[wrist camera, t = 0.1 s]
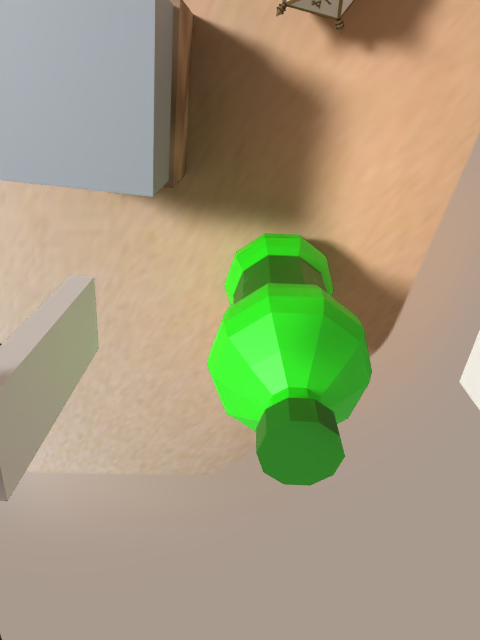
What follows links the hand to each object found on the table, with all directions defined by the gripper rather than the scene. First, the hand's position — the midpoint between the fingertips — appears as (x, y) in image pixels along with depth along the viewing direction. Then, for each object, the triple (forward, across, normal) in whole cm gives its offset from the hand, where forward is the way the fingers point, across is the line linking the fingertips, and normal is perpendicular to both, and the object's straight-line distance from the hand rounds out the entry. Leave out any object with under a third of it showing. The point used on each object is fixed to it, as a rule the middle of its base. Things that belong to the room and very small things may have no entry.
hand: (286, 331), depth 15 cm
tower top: (+21, -13, +6) cm, 26 cm away
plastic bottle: (+28, +2, -8) cm, 29 cm away
